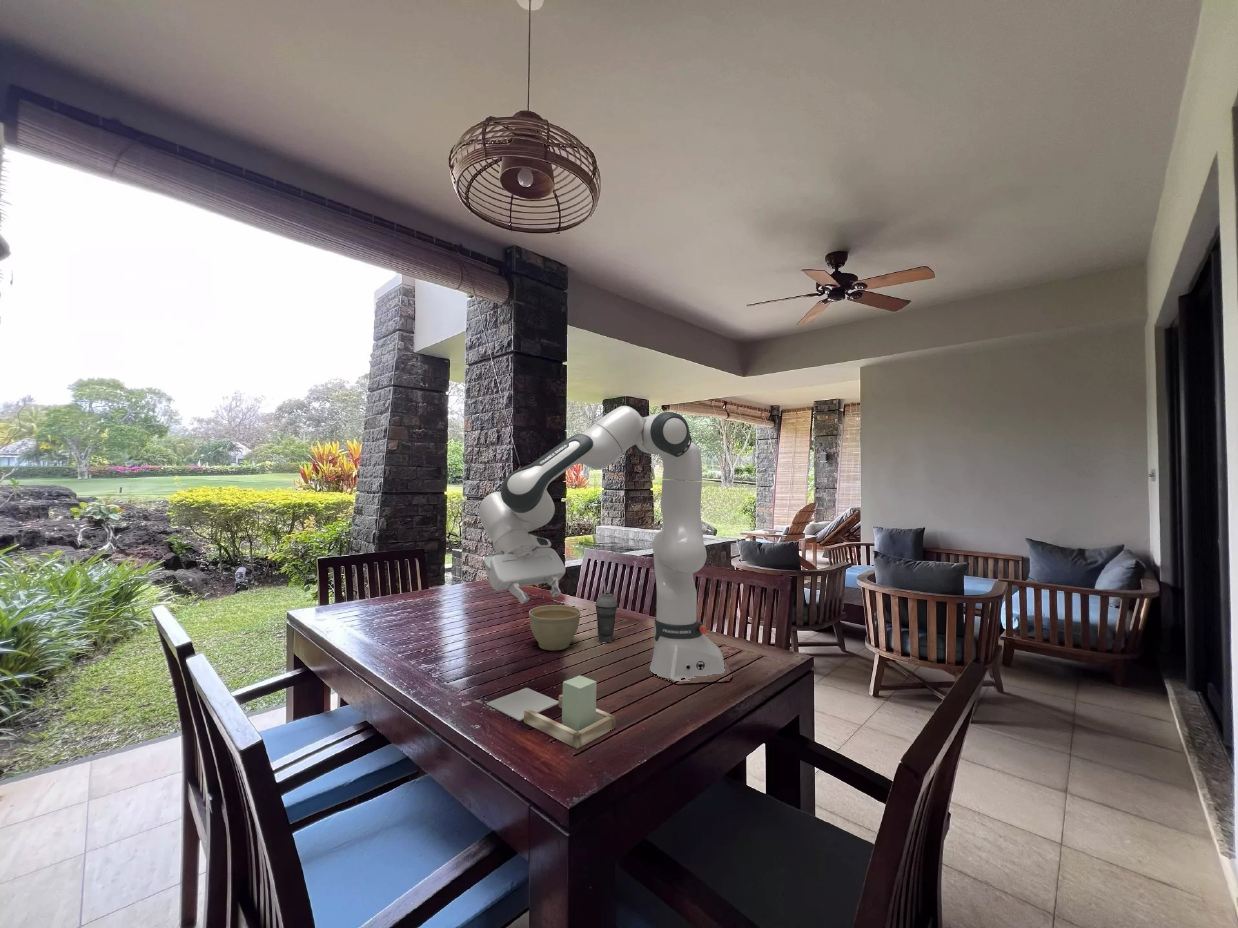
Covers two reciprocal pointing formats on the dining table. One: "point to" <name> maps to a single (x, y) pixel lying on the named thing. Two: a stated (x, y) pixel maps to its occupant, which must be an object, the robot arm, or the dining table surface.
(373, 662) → the dining table surface
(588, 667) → the dining table surface
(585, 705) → the block
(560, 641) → the planter bowl
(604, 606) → the beverage cup
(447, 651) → the dining table surface
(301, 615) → the dining table surface
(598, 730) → the lane
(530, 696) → the mat
